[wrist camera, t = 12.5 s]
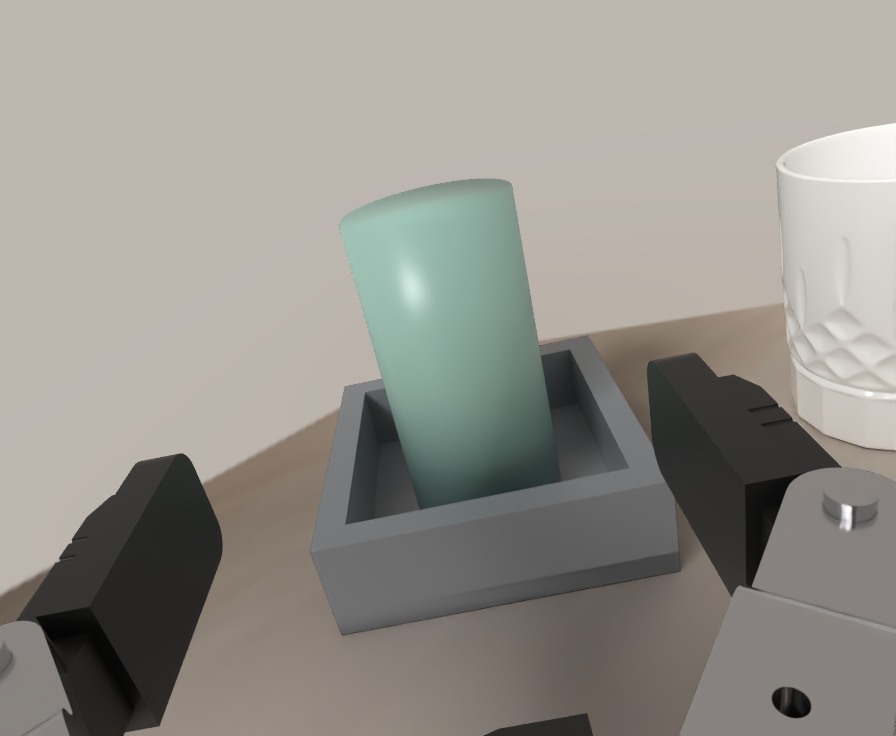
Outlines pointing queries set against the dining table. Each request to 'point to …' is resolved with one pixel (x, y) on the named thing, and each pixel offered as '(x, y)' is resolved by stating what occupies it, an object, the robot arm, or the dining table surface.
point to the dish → (492, 510)
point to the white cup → (842, 282)
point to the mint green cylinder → (455, 338)
